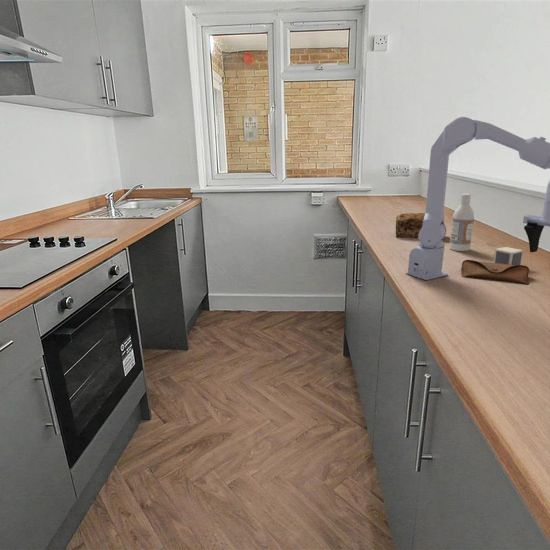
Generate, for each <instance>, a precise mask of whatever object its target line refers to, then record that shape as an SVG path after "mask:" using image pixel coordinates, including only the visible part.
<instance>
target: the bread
mask: <svg viewBox="0 0 550 550" xmlns="http://www.w3.org/2000/svg"><path fill="white" fill-rule="evenodd" d="M425 213H426V212H418V213H416V212H415V213H411V212H409V213H399V214H398V215H397V216H396V219H395V238H399V237H400V238H403V239H418V234H419V231H420V230H421V228H422V226H423V220H424V216H425Z"/></svg>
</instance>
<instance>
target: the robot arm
mask: <svg viewBox="0 0 550 550" xmlns="http://www.w3.org/2000/svg"><path fill="white" fill-rule="evenodd" d="M473 140H475V141H478V140H490V141H492V142H495V143H497V144H500V145H502V146H504V147H507V148H509V149H512V150H514V151H517V152H518V155H519V156H518V157H519V158H520V160H522V161H525V162H527V163H530V164H531V165H533V166H536V167H539V168H541V169H543V170H547V169H549V170H550V142H549V141H546V140H547V139H546V137H544V136H540V137H537V136H532V137H530V138H527V139H525V138H523V137H520V136H519V135H516V134H514V133H512V132H510V131H507V130H505V129H503V128H502V127H499V126H496V125H494V124H492V123H489V122H485V121H481V120H476V119H472V118H470V117H466V116H460V117H458V118H455V119H454V120H452V121H451V122H450V123H448V124H447V125H446V126H445V127H444V129H443V131H442V132H441V133H440V134H439V136H438V137H437V139H436V140H435V142H434V143H433V144H432V146H431V149H430V156H429V169H428V178H427V179H428V180H427V192H426V203H425V212H424V213H425V216H424V220H423V226H422V228H421V230H420V231H419V234H418V238H419V239H418V238H417V239H418V240H419V241H418V245H417V246H416V247H415V248H413V249H411V250H410V252H409V256H408V265H407V266H408V267H407V268H408V269H407V271H405V274H406V273H407V275H409V276H413V277H415V278H418V279H422V280H424V281H428V280H433V279H437V278H441V277H445V276H448V275H449V273H447V272H444V271H443V265H444V262H443V261H444V253H445V243H444V241H443V239H444V238H445V236H446V235H447V226H446V224H445V213H444V212H445V211H444V209H445V201H446V191H447V190H446V189H447V181H448V179H447V178H448V169H449V160H450V159H449V158H450V155H451V154H452V153H453V152H454V151H456V150H457V149H458V148H459V147H461V146H463V145H465V144H467V143H469V142H472V141H473ZM522 219H523V220H522V224H526V225H524V226H523V229H524V231H525V234H526V236H527V240H528V245H529V253H536V252H538V249H539V244H540V239H541V235H542V233H543V229H544V228H545V227H548V228H549V227H550V179H549V181H548V182H547V185H546V191H545V197H544V201H543V207H542V214H541V215H540V216H539V215H538V216H537V215H530V214H528V215H523V218H522Z"/></svg>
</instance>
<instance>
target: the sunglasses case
mask: <svg viewBox="0 0 550 550" xmlns="http://www.w3.org/2000/svg"><path fill="white" fill-rule="evenodd" d="M460 269H461V271H460V272H461V273H460V274H461V275H460V276H461V278H464V279H465V278H466V279H467V278H468V279H480V280H486V279H487V281H489V280H490V281H496V282H504V283H513V284H521V285H530V283H529V273H530V272H529V271H530V270H529V269H530V268H529V267H528V266H527V265H524V264H523V265H522V264H521V265H508V264H499V263H493V262H489V261H488V262H487V261H479V260H478V261H477V260H475V259H474V260H473V259H465V260H463V261H462V262H461V268H460Z"/></svg>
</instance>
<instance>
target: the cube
mask: <svg viewBox="0 0 550 550" xmlns="http://www.w3.org/2000/svg"><path fill="white" fill-rule="evenodd" d="M523 253H524V250H522V249H519V248H513V247H510V246H509V247H508V246H503V247H499V248H498V247H497V248H495V250H494V254H493V255H494V256H493V262H492V263H499V264H508V265H522V260H523Z"/></svg>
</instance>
